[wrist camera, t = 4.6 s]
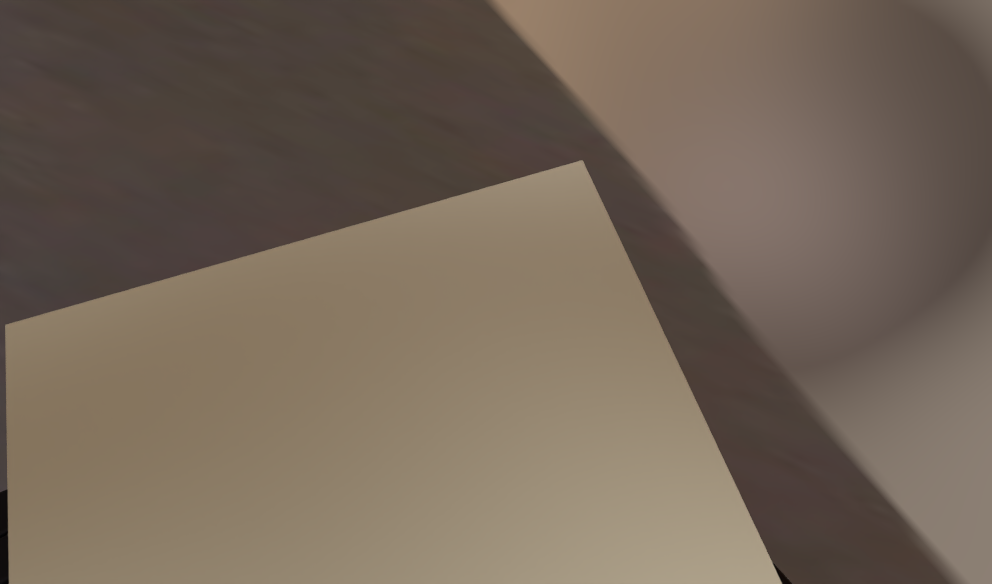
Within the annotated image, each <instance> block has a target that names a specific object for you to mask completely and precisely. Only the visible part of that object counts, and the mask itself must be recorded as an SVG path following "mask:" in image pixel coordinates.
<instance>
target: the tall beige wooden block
mask: <svg viewBox="0 0 992 584" xmlns="http://www.w3.org/2000/svg"><path fill="white" fill-rule="evenodd" d="M5 333H6V406H7V480H8V553H9V584H782V582H781V580H780V578H779V576H778V574H777V572H776V570H775V567H774V565H773V563H772V561H771V559H770V557H769V555H768V553H767V551H766V548H765V546H764V544H763V542H762V540H761V538H760V536H759V534H758V531H757V529H756V527H755V525H754V523H753V521H752V519H751V517H750V514H749V512H748V510H747V508H746V506H745V504H744V502H743V500H742V498H741V495H740V493H739V491H738V489H737V487H736V485H735V483H734V481H733V478H732V476H731V474H730V472H729V470H728V468H727V466H726V464H725V461H724V459H723V457H722V455H721V453H720V451H719V449H718V447H717V445H716V442H715V440H714V438H713V436H712V434H711V432H710V430H709V428H708V425H707V423H706V421H705V419H704V417H703V415H702V413H701V411H700V408H699V406H698V404H697V402H696V400H695V398H694V396H693V394H692V392H691V389H690V387H689V385H688V383H687V381H686V379H685V377H684V375H683V372H682V370H681V368H680V366H679V364H678V362H677V360H676V358H675V355H674V353H673V351H672V349H671V347H670V345H669V343H668V341H667V339H666V336H665V334H664V332H663V330H662V328H661V326H660V324H659V322H658V319H657V317H656V315H655V313H654V311H653V309H652V307H651V305H650V302H649V300H648V298H647V296H646V294H645V292H644V290H643V288H642V286H641V283H640V281H639V279H638V277H637V275H636V273H635V271H634V269H633V266H632V264H631V262H630V260H629V258H628V256H627V254H626V252H625V249H624V247H623V245H622V243H621V241H620V239H619V237H618V235H617V233H616V230H615V228H614V226H613V224H612V222H611V220H610V218H609V216H608V213H607V211H606V209H605V207H604V205H603V203H602V201H601V199H600V196H599V194H598V192H597V190H596V188H595V186H594V184H593V182H592V179H591V177H590V175H589V173H588V171H587V169H586V167H585V165H584V163H583V160H582V161H578V162H575V163H571V164H568V165H564V166H561V167H557V168H554V169H550V170H547V171H543V172H540V173H536V174H533V175H529V176H526V177H522V178H519V179H515V180H512V181H508V182H505V183H501V184H498V185H494V186H491V187H487V188H484V189H480V190H477V191H473V192H470V193H466V194H463V195H459V196H456V197H452V198H449V199H445V200H442V201H438V202H434V203H431V204H427V205H424V206H420V207H417V208H413V209H410V210H406V211H403V212H399V213H396V214H392V215H389V216H385V217H382V218H378V219H375V220H371V221H368V222H364V223H361V224H357V225H354V226H350V227H347V228H343V229H340V230H336V231H333V232H329V233H326V234H322V235H319V236H315V237H312V238H308V239H305V240H301V241H298V242H294V243H291V244H287V245H284V246H280V247H277V248H273V249H270V250H266V251H263V252H259V253H256V254H252V255H249V256H245V257H242V258H238V259H235V260H231V261H228V262H224V263H221V264H217V265H214V266H210V267H207V268H203V269H200V270H196V271H193V272H189V273H186V274H182V275H179V276H175V277H172V278H168V279H165V280H161V281H158V282H154V283H151V284H147V285H144V286H140V287H137V288H133V289H130V290H126V291H123V292H119V293H116V294H112V295H109V296H105V297H102V298H98V299H95V300H91V301H88V302H84V303H81V304H77V305H74V306H70V307H67V308H63V309H60V310H56V311H53V312H49V313H46V314H42V315H39V316H35V317H32V318H28V319H25V320H21V321H18V322H14V323H11V324H7V325H5Z"/></svg>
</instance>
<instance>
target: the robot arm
mask: <svg viewBox="0 0 992 584" xmlns="http://www.w3.org/2000/svg"><path fill="white" fill-rule="evenodd" d="M772 563H773V562H772ZM773 565H774V567H775V570H776V572H777V574H778V576H779V578H780V580H781V582H782V584H792V583H791V581H790V580H789V579H788V578H787V577H786V576H785V575H784V574H783V573H782V572H781V571H780V570H779V568H778V567H777V566H776V565H775V564H774V563H773ZM0 584H9V553H8V489H7V490H5V491H2V492H0Z"/></svg>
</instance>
